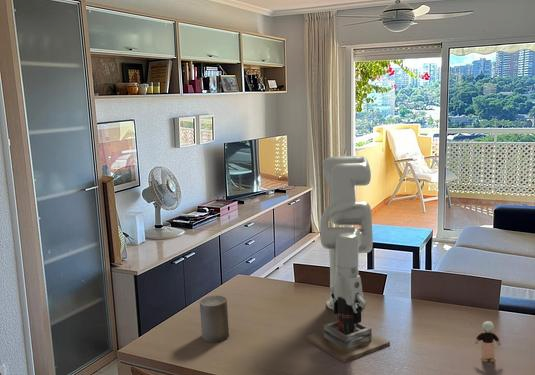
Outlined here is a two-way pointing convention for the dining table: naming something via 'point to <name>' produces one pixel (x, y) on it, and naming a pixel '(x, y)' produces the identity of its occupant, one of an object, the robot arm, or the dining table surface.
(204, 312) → the pillar candle
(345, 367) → the dining table surface
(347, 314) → the deodorant
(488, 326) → the grandmother figurine
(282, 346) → the dining table surface
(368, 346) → the collar stand
